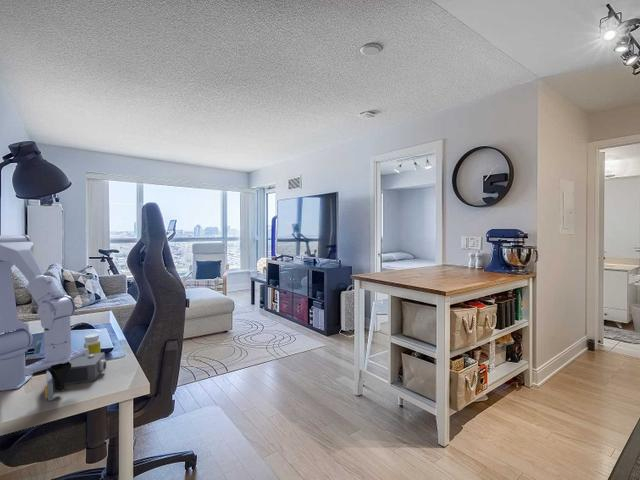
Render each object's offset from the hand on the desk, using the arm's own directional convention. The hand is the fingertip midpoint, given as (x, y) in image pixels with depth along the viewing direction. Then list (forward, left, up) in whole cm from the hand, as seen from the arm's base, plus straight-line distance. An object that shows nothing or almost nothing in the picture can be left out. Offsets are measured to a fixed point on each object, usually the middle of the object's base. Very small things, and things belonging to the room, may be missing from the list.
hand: (59, 390), depth 91 cm
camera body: (+1, +12, -1) cm, 12 cm away
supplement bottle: (+1, +26, -2) cm, 26 cm away
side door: (-3, +1, -1) cm, 4 cm away
